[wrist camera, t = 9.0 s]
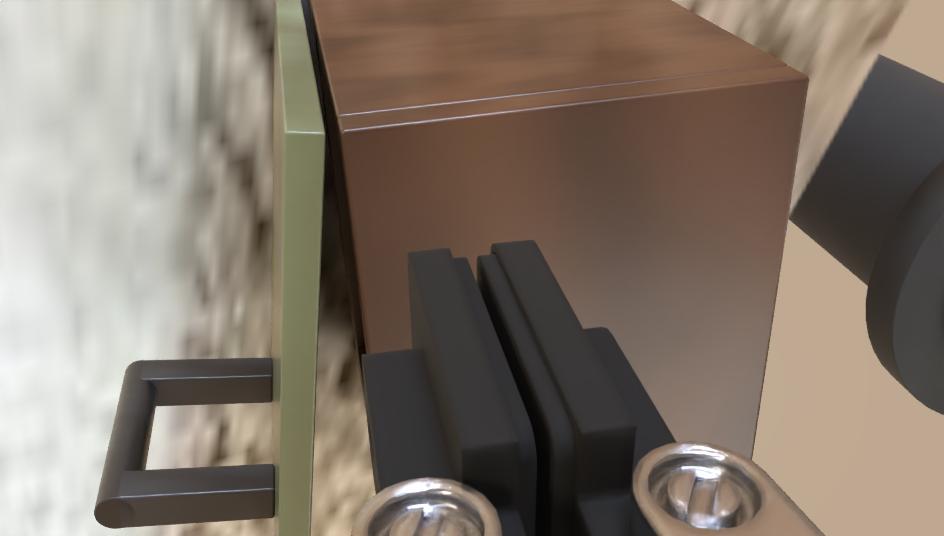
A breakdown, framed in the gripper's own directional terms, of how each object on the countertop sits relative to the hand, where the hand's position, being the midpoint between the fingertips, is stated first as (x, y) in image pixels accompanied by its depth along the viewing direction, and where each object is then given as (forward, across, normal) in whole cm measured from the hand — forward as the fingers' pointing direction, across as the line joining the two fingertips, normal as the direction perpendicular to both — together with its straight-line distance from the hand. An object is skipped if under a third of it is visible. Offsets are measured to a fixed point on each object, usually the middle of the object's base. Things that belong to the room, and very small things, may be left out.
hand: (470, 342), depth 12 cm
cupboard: (+21, -4, +6) cm, 22 cm away
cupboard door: (+20, +6, +6) cm, 22 cm away
